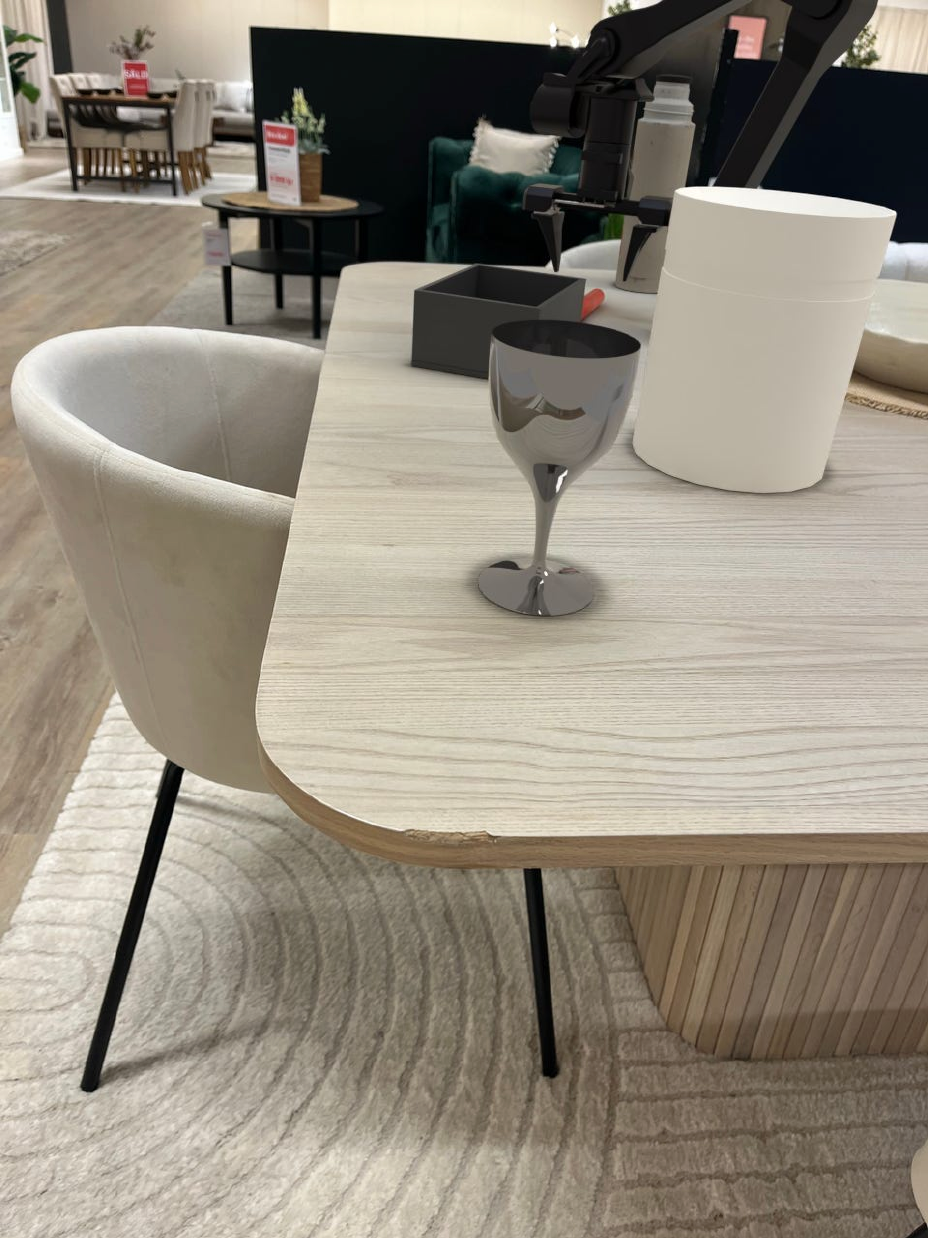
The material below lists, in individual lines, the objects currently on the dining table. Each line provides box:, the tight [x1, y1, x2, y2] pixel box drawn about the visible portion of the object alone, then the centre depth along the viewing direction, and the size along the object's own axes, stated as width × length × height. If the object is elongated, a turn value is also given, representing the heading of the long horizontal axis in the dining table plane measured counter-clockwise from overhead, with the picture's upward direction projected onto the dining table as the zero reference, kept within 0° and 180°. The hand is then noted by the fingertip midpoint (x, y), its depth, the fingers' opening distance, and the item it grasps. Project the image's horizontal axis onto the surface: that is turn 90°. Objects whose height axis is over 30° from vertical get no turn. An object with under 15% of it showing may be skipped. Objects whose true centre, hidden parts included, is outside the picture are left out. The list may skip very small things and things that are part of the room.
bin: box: [410, 263, 587, 380], centre depth 100 cm, size 18×13×8 cm
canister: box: [632, 186, 898, 494], centre depth 74 cm, size 16×16×20 cm
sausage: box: [581, 287, 606, 320], centre depth 122 cm, size 14×2×2 cm, turn 159°
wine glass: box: [477, 320, 642, 617], centre depth 53 cm, size 8×8×15 cm
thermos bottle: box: [614, 73, 696, 294], centre depth 134 cm, size 8×8×28 cm
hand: (590, 276), depth 120 cm, fingers open, 9 cm apart
